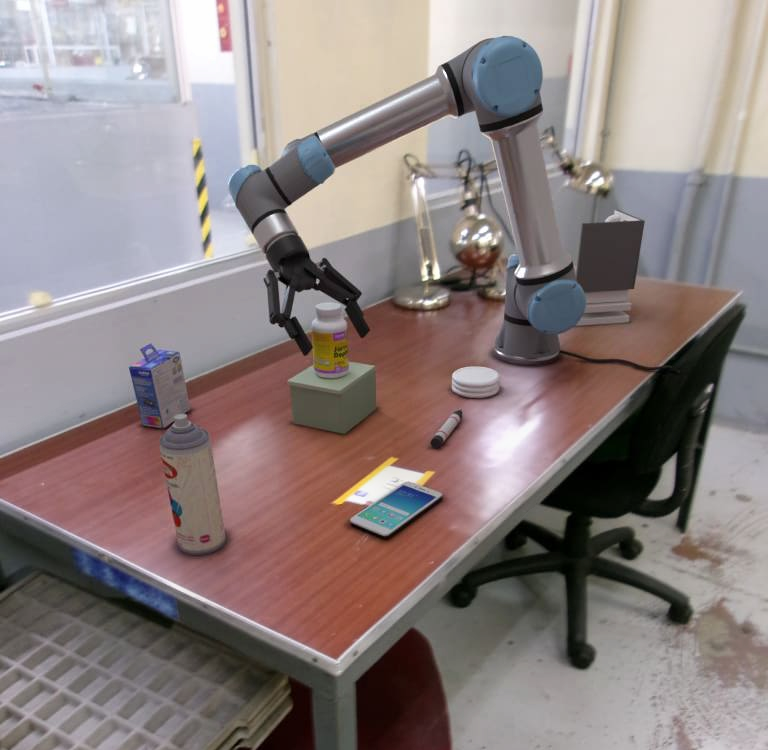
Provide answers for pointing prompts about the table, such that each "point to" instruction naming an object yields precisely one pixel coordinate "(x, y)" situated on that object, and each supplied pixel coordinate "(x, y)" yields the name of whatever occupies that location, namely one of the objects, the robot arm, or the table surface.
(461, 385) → the coaster
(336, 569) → the table surface
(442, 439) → the marker
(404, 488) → the smartphone
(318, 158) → the robot arm
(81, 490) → the table surface
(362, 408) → the chest
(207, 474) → the aerosol can
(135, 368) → the ink cartridge box
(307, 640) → the table surface
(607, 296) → the stack of books
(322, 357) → the supplement bottle
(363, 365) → the lid
